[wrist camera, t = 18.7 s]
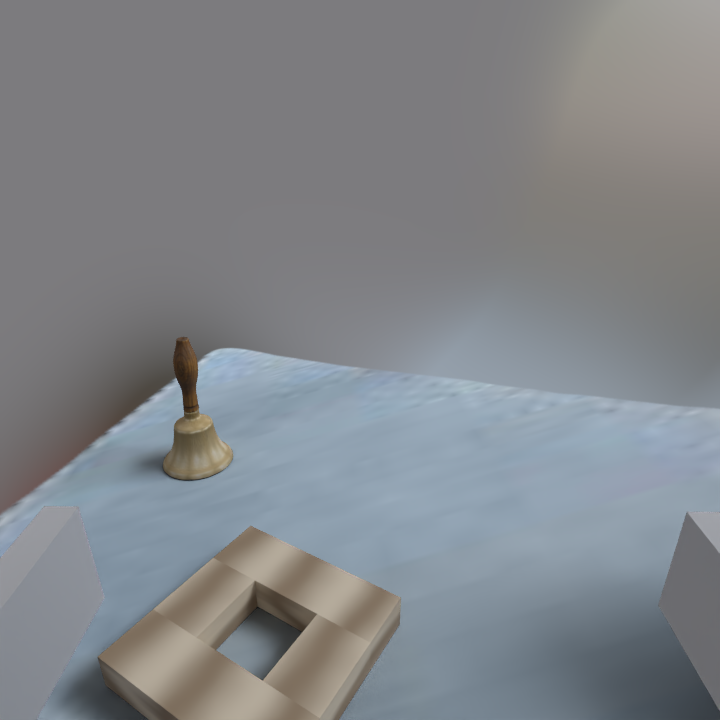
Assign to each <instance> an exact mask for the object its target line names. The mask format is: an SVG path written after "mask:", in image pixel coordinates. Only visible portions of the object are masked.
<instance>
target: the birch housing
mask: <svg viewBox="0 0 720 720" xmlns="http://www.w3.org/2000/svg"><path fill="white" fill-rule="evenodd" d="M257 606H258V607H259V608H261V609H263V610H265V611H266V612H268V613H270V614H272V615H273V616H275V617H277V618H279V619H280V620H282V621H284V622H286V623H287V624H289V625H291V626H293V627H294V628H296V629H298V630H300V631H301V632H302V633H301V635H300V636H299V637H298V638H297V639H296V641H295V642H294V643H293V644H292V646H291V647H290V648H289V649H288V650H287V652H286V653H285V654H284V655H283V656H282V658H281V659H280V660H279V661H278V663H277V664H276V665H275V666H274V667H273V669H272V670H271V671H270V672H269V674H268V675H267V676H266V677H265V678H264V680H263V681H262V680H261V679H259V678H257V677H256V676H254V675H253V674H251V673H250V672H248V671H247V670H245V669H244V668H242V667H241V666H239V665H238V664H236V663H235V662H233V661H231V660H230V659H228V658H227V657H225V656H224V655H222V654H221V653H219V652H218V651H216V649H217V648H218V647H219V646H220V645H221V644H222V643H223V642H224V641H225V640H226V639H227V638H228V637H229V636H230V635H231V634H232V633H233V632H234V631H235V629H236V628H237V627H238V626H239V625H240V624H241V623H242V622H243V621H244V620H245V619H246V618H247V617H248V616H249V615H250V614H251V613H252V612H253V611H254V610H255V609H256V608H257ZM400 606H401V598H400V597H398V596H396V595H394V594H392V593H390V592H388V591H386V590H384V589H382V588H379V587H377V586H375V585H373V584H371V583H369V582H367V581H365V580H363V579H361V578H359V577H356V576H354V575H352V574H350V573H348V572H346V571H344V570H342V569H340V568H338V567H336V566H334V565H331V564H329V563H327V562H325V561H323V560H321V559H319V558H317V557H315V556H313V555H311V554H308V553H306V552H304V551H302V550H300V549H298V548H296V547H294V546H292V545H290V544H288V543H285V542H283V541H281V540H279V539H277V538H275V537H273V536H271V535H269V534H267V533H265V532H263V531H260V530H258V529H256V528H254V527H252V526H250V527H249V528H248V529H246V530H245V531H244V532H243V533H242V534H241V535H239V536H238V537H237V538H236V539H235V540H234V541H232V542H231V543H230V544H229V545H228V546H227V547H225V548H224V549H223V550H222V551H221V552H220V553H218V554H217V555H216V556H215V557H214V558H213V559H211V560H210V561H209V562H208V563H207V564H206V565H204V566H203V567H202V568H201V569H200V570H199V571H197V572H196V573H195V574H194V575H193V576H192V577H190V578H189V579H188V580H187V581H186V582H185V583H183V584H182V585H181V586H180V587H179V588H178V589H176V590H175V591H174V592H173V593H172V594H171V595H169V596H168V597H167V598H166V599H165V600H163V601H162V602H161V603H160V604H159V605H158V606H156V607H155V608H154V609H153V610H152V611H151V612H149V613H148V614H147V615H146V616H145V617H144V618H142V619H141V620H140V621H139V622H138V623H137V624H135V625H134V626H133V627H132V628H131V629H130V630H128V631H127V632H126V633H125V634H124V635H123V636H121V637H120V638H119V639H118V640H117V641H116V642H114V643H113V644H112V645H111V646H110V647H109V648H107V649H106V650H105V651H104V652H103V653H102V654H100V655H99V656H98V660H99V663H100V667H101V670H102V674H103V677H104V681H105V685H106V686H107V687H109V688H110V689H111V690H112V691H114V692H115V693H116V694H117V695H119V696H120V697H121V698H122V699H124V700H125V701H126V702H127V703H129V704H130V705H131V706H132V707H134V708H135V709H136V710H137V711H139V712H140V713H141V714H142V715H144V716H145V717H146V718H147V719H148V720H339V719H340V717H341V715H342V714H343V712H344V711H345V709H346V708H347V706H348V704H349V703H350V701H351V700H352V698H353V697H354V695H355V694H356V692H357V690H358V689H359V687H360V686H361V684H362V683H363V681H364V679H365V678H366V676H367V675H368V673H369V672H370V670H371V668H372V667H373V665H374V664H375V662H376V661H377V659H378V658H379V656H380V654H381V653H382V651H383V650H384V648H385V647H386V645H387V643H388V642H389V640H390V639H391V637H392V636H393V634H394V632H395V631H396V629H397V628H398V626H399V625H400Z"/></svg>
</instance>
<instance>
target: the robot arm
mask: <svg viewBox="0 0 720 720" xmlns="http://www.w3.org/2000/svg"><path fill="white" fill-rule="evenodd" d="M104 598H105V597H104V594H103V590H102V587H101V583H100V580H99V576H98V573H97V569H96V566H95V562H94V559H93V555H92V552H91V548H90V545H89V541H88V538H87V534H86V531H85V527H84V524H83V520H82V517H81V513H80V510H79V507H61V506H44V507H43V508H42V510H41V511H40V512H39V513H38V514H37V515H36V517H35V518H34V519H33V520H32V521H31V523H30V524H29V525H28V526H27V527H26V528H25V530H24V531H23V532H22V533H21V534H20V536H19V537H18V538H17V539H16V540H15V541H14V543H13V544H12V545H11V546H10V547H9V549H8V550H7V551H6V552H5V553H4V554H3V556H2V557H1V558H0V720H37V718H38V716H39V714H40V712H41V711H42V709H43V707H44V705H45V704H46V702H47V700H48V698H49V696H50V695H51V693H52V691H53V689H54V688H55V686H56V684H57V682H58V680H59V679H60V677H61V675H62V673H63V671H64V670H65V668H66V666H67V664H68V663H69V661H70V659H71V657H72V655H73V654H74V652H75V650H76V648H77V646H78V645H79V643H80V641H81V639H82V638H83V636H84V634H85V632H86V630H87V629H88V627H89V625H90V623H91V621H92V620H93V618H94V616H95V614H96V613H97V611H98V609H99V607H100V605H101V604H102V602H103V600H104ZM658 606H659V607H660V609H661V611H662V613H663V614H664V616H665V618H666V619H667V621H668V623H669V625H670V626H671V628H672V630H673V632H674V633H675V635H676V637H677V638H678V640H679V642H680V644H681V645H682V647H683V649H684V651H685V652H686V654H687V656H688V657H689V659H690V661H691V663H692V664H693V666H694V668H695V670H696V671H697V673H698V675H699V676H700V678H701V680H702V682H703V683H704V685H705V687H706V689H707V690H708V692H709V694H710V695H711V697H712V699H713V701H714V702H715V704H716V706H717V708H718V709H719V711H720V512H687V513H686V516H685V520H684V523H683V526H682V529H681V533H680V536H679V539H678V543H677V546H676V549H675V552H674V556H673V559H672V562H671V565H670V569H669V572H668V575H667V578H666V582H665V585H664V588H663V591H662V595H661V598H660V601H659V605H658Z"/></svg>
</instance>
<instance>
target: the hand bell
mask: <svg viewBox="0 0 720 720" xmlns="http://www.w3.org/2000/svg"><path fill="white" fill-rule="evenodd" d="M173 364H174V371H175V375H176V378H177V380H178V383H179V384H180V387H181V389H182V394H183V405H184V417H182V418H180V419H179V420H177V421H176V423H175V425H174V443H173V447H172V449H171V451H170V452H169V453H168V454H167V455H166V457H165V459H164V462H163V469H164V471H165V472H166V473H167V474H168V475H169V476H171V477H173V478H177V479H181V480H196V479H201V478H206V477H209V476H212V475H214V474H216V473H218V472H221V471H222V470H224V469H225V468H226V467H227V466H228V465H229V464H230V463H231V461H232V459H233V451H232V449H231V448H230V447H229V446H228V445H227V444H226V443H224V442H223V441H221V440H220V439H219V437H218V436H217V434H216V431H215V428H214V425H213V421H212V419H211V418H210V417H209V416H207V415H204V414H200V413H199V405H198V400H197V394H196V382H197V377H198V364H197V358H196V355H195V353H194V350H193V348H192V347H191V345H190V342H189V339H188V338H187V337H180V338H178V339H177V341H176V348H175V352H174V359H173Z"/></svg>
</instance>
